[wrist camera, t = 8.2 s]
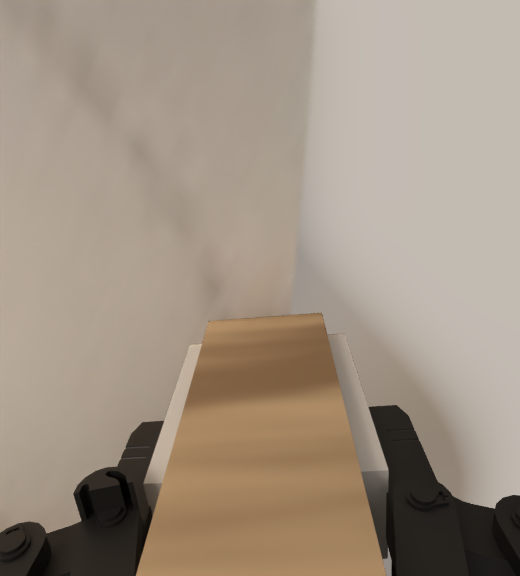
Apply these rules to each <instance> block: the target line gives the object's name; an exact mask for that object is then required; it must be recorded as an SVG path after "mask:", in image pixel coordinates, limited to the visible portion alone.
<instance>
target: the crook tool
mask: <svg viewBox="0 0 520 576" xmlns="http://www.w3.org/2000/svg"><path fill="white" fill-rule="evenodd" d="M136 576H386V572H385V568H384V564H383V559H382V555H381V551H380V547H379V543H378V539H377V535H376V531H375V527H374V523H373V519H372V515H371V511H370V507H369V503H368V498H367V494H366V490H365V486H364V482H363V478H362V474H361V470H360V466H359V462H358V458H357V454H356V450H355V446H354V441H353V437H352V433H351V429H350V425H349V421H348V417H347V413H346V409H345V405H344V401H343V397H342V393H341V389H340V385H339V380H338V376H337V372H336V368H335V364H334V360H333V356H332V352H331V348H330V344H329V340H328V336H327V332H326V328H325V324H324V319H323V315H322V313H313V314H299V315H285V316H272V317H259V318H245V319H232V320H219V321H208V325H207V328H206V332H205V335H204V339H203V342H202V346H201V349H200V353H199V356H198V360H197V363H196V367H195V370H194V374H193V377H192V381H191V384H190V388H189V391H188V395H187V398H186V402H185V405H184V409H183V412H182V416H181V419H180V423H179V426H178V430H177V433H176V437H175V440H174V444H173V447H172V451H171V454H170V458H169V461H168V465H167V468H166V472H165V475H164V479H163V482H162V486H161V489H160V493H159V496H158V500H157V503H156V507H155V510H154V514H153V517H152V521H151V524H150V528H149V531H148V535H147V538H146V542H145V545H144V549H143V552H142V556H141V559H140V563H139V566H138V570H137V573H136Z"/></svg>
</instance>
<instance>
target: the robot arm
mask: <svg viewBox="0 0 520 576" xmlns="http://www.w3.org/2000/svg"><path fill="white" fill-rule="evenodd" d="M327 336H328V340H329V344H330V348H331V352H332V356H333V360H334V364H335V368H336V372H337V376H338V380H339V385H340V389H341V393H342V397H343V401H344V405H345V409H346V413H347V417H348V421H349V425H350V429H351V433H352V437H353V441H354V446H355V450H356V454H357V458H358V462H359V466H360V470H361V474H362V478H363V482H364V486H365V490H366V494H367V498H368V503H369V507H370V511H371V515H372V519H373V523H374V527H375V531H376V535H377V539H378V543H379V547H380V551H381V555H382V559H385V558H387V557H388V548H389V552H390V555H391V559H392V576H520V496H517V495H512V496H508V497H504V498H502V499H501V500H500V501H499V502H498V503H497V504H496V508H495V509H493V508H488V507H484V506H479V505H474V504H470V503H466V502H463V501H461V500H459V499H457V498H455V497H453V496H452V495H451V493H450V492H449V491H448V490H447V489H446V488H445V487H444V486H443V485H442V484H440V483H438V481H437V479H436V477H435V475H434V473H433V471H432V468H431V466H430V464H429V461H428V459H427V457H426V455H425V452H424V450H423V448H422V445H421V443H420V441H419V439H418V436H417V434H416V432H415V431H414V428H413V425H412V423H411V421H410V418H409V416H408V415H407V414H406V413H405V412H404V411H403V410H401V409H400V408H399V407H398V406H397V405H392V406H376V407H368V405H367V401H366V399H365V395H364V393H363V389H362V386H361V383H360V380H359V377H358V373H357V371H356V367H355V364H354V361H353V358H352V355H351V352H350V348H349V345H348V342H347V339H346V336H345V334H332V335H327ZM201 346H202V344H191V345H190V346H189V349H188V352H187V355H186V358H185V361H184V364H183V367H182V370H181V373H180V376H179V379H178V382H177V385H176V388H175V391H174V394H173V397H172V400H171V403H170V406H169V409H168V412H167V415H166V418H165V421H155V422H142V423H141V424H140V425H139V426H138V428H137V429H136V430H135V431H134V432H133V433H132V434H131V436H130V438H129V440H128V443H127V445H126V449H125V450H124V452H123V454H122V457H121V460H120V462H119V464H118V466H117V467H107V468H104V469H101V470H98V471H95V472H94V473H92V474H90V475H89V476H87V477H85V478H84V479H83V480H82V481H81V482H80V483H79V484H78V486H77V488H76V490H75V492H74V498H75V501H76V504H77V507H78V510H79V514H80V517H81V520H82V521H81V522H79V523H76V524H74V525H72V526H69V527H66V528H63V529H60V530H56V531H53V532H50V533H47V534H46V531H45V529H44V527H42V526H41V525H40V524H39V523H35V522H25V523H19V524H16V525H14V526H12V527H9V528H7V529H5V530H4V531H3V532H1V533H0V576H136V573H137V570H138V566H139V563H140V559H141V556H142V552H143V549H144V545H145V542H146V538H147V535H148V531H149V528H150V524H151V521H152V517H153V514H154V510H155V507H156V503H157V500H158V496H159V493H160V489H161V486H162V482H163V479H164V475H165V472H166V468H167V465H168V461H169V458H170V454H171V451H172V447H173V444H174V440H175V437H176V433H177V430H178V426H179V423H180V419H181V416H182V412H183V409H184V405H185V402H186V398H187V395H188V391H189V388H190V384H191V381H192V377H193V374H194V370H195V367H196V363H197V360H198V356H199V353H200V349H201Z"/></svg>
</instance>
